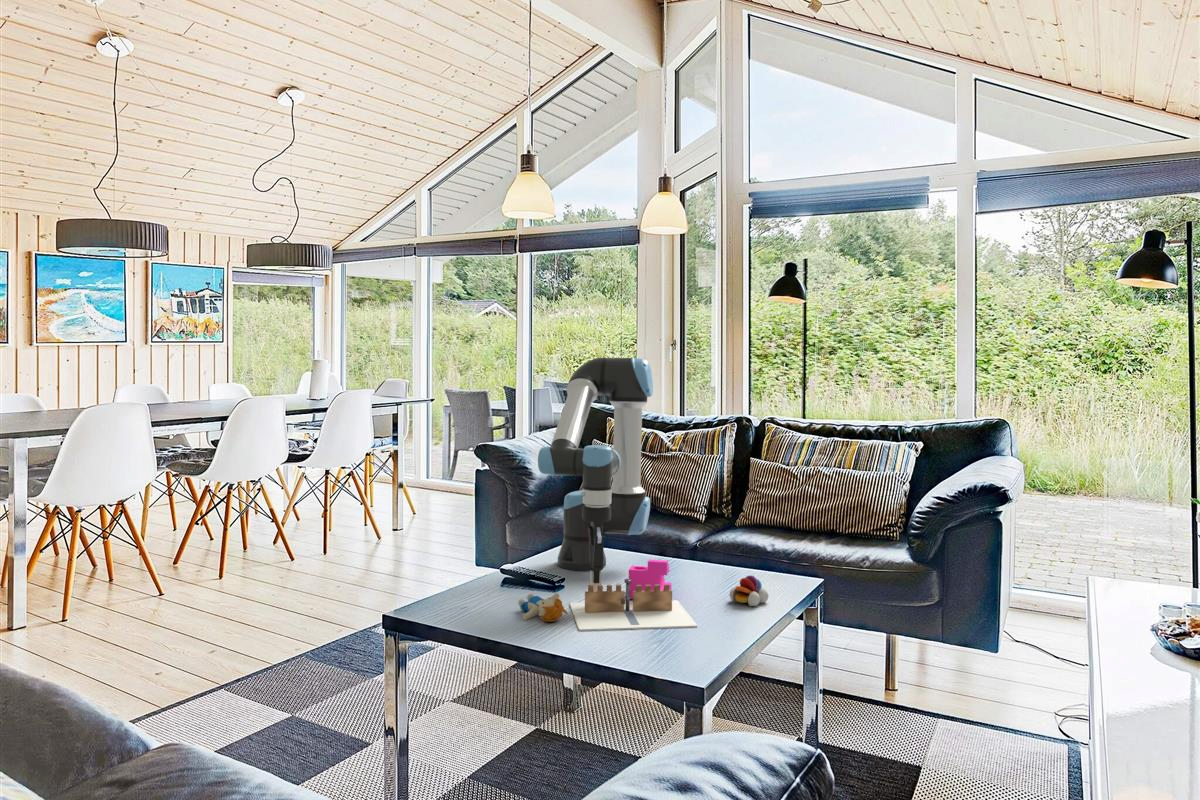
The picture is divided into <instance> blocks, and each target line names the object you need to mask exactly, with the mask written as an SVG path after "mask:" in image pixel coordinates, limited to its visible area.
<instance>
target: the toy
mask: <svg viewBox="0 0 1200 800" xmlns="http://www.w3.org/2000/svg"><path fill="white" fill-rule="evenodd" d="M526 599H527V601H526V600H525V599H523V598H521V599H519V600H518V601H517V602H518V606H519V608H520V610H521V611H523V612H524V613H522V615H523V616H522V621H528V620H530V619H531V618H533V617H535V616H538V617H540V619H541V620H542V621H543V622H547V623H549V622H556V621H558V620H559V619H560V618H561V617H562V616H563V614H564V613H565V614H566V615H568V616H570V614H568V613H569V612H568V611H566V609H565V607H564V605H563V602H562V600H561V599H560V594H559V593H557V592H554V594H552V595H551V596H549V597H546V598H542V597H541V596H539V595H534V593H532V592H530V593H528V594H527V595H526ZM527 619H528V620H527Z"/></svg>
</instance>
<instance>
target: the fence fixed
mask: <svg viewBox="0 0 1200 800" xmlns="http://www.w3.org/2000/svg"><path fill="white" fill-rule="evenodd" d="M672 600H673V590H672V589H671V590H669V584H664V590H660V585H659V584H655V590H652V591H651V585H650V584H648V585H645V591H642V586H641V585H636V591H633V598H632V601H633V611H658V610H672Z"/></svg>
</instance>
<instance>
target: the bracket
mask: <svg viewBox="0 0 1200 800" xmlns="http://www.w3.org/2000/svg"><path fill="white" fill-rule="evenodd" d="M669 572H670V565H669V560H666V559H665V560H662V559H648V561H647V566H644V565H631V566H630V568H628V579H631V580H632V582H631V583H630V599H633V591H636V585H641V586H642V591H645V585H648V584H650V585H651V591H652V590H655V584H659V585H660V590H664V584H669V590H672V588H673V587H672V582H671V581H670V582H669V581H666V580H665V576H668V574H669Z"/></svg>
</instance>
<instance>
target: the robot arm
mask: <svg viewBox="0 0 1200 800" xmlns="http://www.w3.org/2000/svg"><path fill="white" fill-rule="evenodd" d="M653 385H654V382H653V375H652V370H651V366H650V363H649V362H648V360H646V359H645V358H639V357H596V358H593V359H590V360H588V361H587V362H585V363H583V364H581V366H580V367H578V368H577V369H576V371H574V373H573V374H572V376H571V377H570V378H569V380H568V383H567V387H566V394H567V396H566V399H565V402H564V405H563V409H562V411H561V414H560V418H559V420H558V423H557V426H556V429H555V432H554V435H553V438H552V441H551V444H550V446H543V447H541V448H540V449H539V451H538V454H537V467H538V471H539V472H540V473H541V474H543V475H550V476H572V477H573V476H576V477H577V476H578V477H582V489H581V490H575V491H570V492H569V493H567V494H566V495H565V496H564V500H563V508H562V510H563V537H562V539H563V541H562V543H561V546H560V549H559V552H558V556H557V567H560V568H562V569H565V570H570V571H588V572H589V573H590V575H589V585H593V591H597V585H602V571H603V568H604V567H606V566H607V557H606V553H605V550H604V548H605V547H604V546H605V539H606V537H605V535H606V534H617V535H618V534H620V535H627V536H630V535H638V536H639V535H642V534H643V533H644V532H645V531H646V529H647V525H648V521H649V517H650V512H651V498H650V497H648V496H646V490H645V489H644V488H643V487H642V486H641V479H642V478H641V477H642V476H641V474H642V434H643V432H642V431H643V430H642V427H643V407H644V406H645V405H646V404H647V403H648V398H650V397H652V396H653V391H654V390H653V388H654V386H653ZM598 396H609V403H610V404H611V406H613V410H614V411H613V447H610V446H609V445H606V444H605V445H603V444H592V445H586V446H584V448H579V446H580V442H581V439H582V436H583V433H584V429H585V426H586V423H587V419H588V417H589V413H590V410H591V406H592V403H594V402H595V401H596V400H597V398H598Z"/></svg>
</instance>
